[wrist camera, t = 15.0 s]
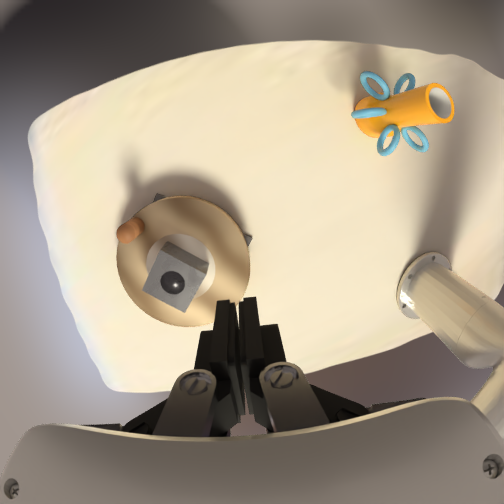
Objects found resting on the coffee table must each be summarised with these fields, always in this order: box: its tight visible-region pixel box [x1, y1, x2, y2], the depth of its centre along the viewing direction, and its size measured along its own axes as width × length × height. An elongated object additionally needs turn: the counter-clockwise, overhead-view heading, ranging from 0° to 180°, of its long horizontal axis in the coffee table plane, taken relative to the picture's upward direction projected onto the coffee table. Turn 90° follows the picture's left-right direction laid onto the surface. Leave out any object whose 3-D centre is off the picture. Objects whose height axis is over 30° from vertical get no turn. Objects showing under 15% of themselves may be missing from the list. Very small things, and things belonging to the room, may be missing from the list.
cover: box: [142, 241, 209, 313], centre depth 32 cm, size 6×6×4 cm
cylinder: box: [351, 71, 454, 156], centre depth 24 cm, size 12×10×15 cm
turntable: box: [117, 196, 250, 327], centre depth 33 cm, size 18×18×6 cm
